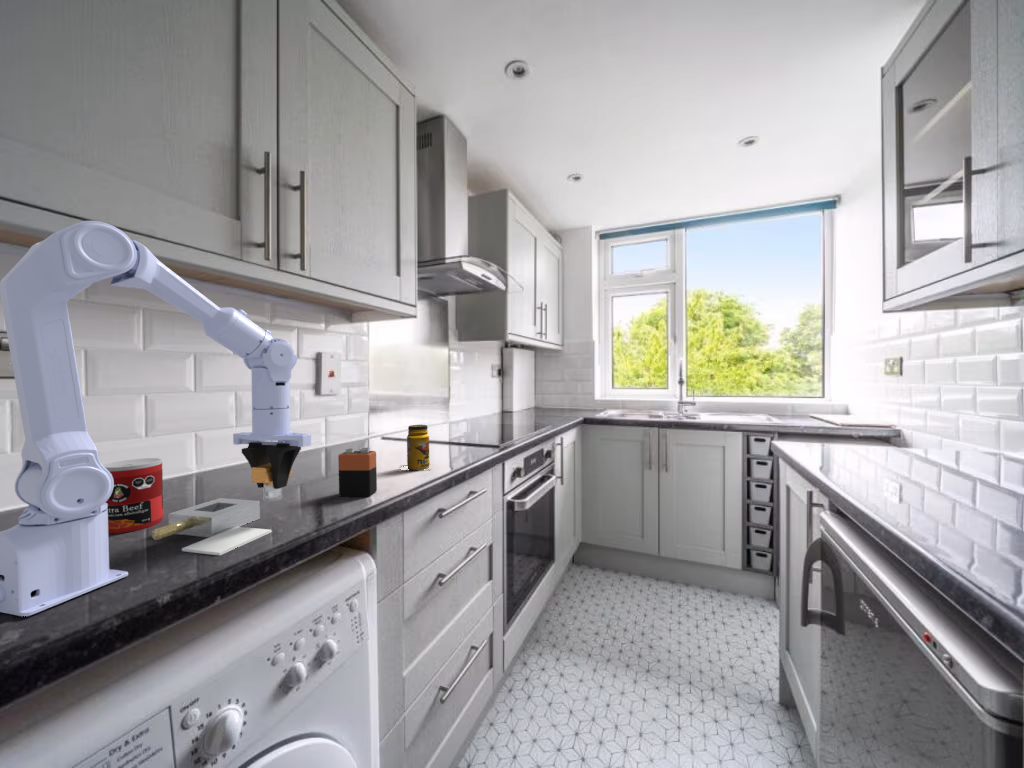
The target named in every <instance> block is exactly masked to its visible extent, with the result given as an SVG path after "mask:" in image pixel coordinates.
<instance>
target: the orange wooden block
mask: <svg viewBox="0 0 1024 768" xmlns="http://www.w3.org/2000/svg"><path fill="white" fill-rule="evenodd" d="M292 470H293V467H292V468H291V471H290V474H289V477H291V476H293V471H292ZM251 483H256V484H257V483H263V487H262V489H263V490H262V493H263V496H262V499H263V502H275V501H279V500H282V499H283V487H282V488H279V489H274V486H273V477H272V467H271V463H268V464H264V465H260V466H256V467H252V468H251Z"/></svg>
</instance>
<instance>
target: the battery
mask: <svg viewBox="0 0 1024 768" xmlns="http://www.w3.org/2000/svg"><path fill="white" fill-rule="evenodd" d="M377 479H378V478H377V452H376V451H375V450H371V448H370V447H360V448H359V450H354V448H346V449H345V451H344V452H342V453H339V454H338V495H339V497H341V498H343V497H344V498H345V497H350V498H351V497H352V498H353V497H357V498H358V497H359V498H360V497H362V498H365V497H366V498H368V497H371V496H372V495H373V494H375V493H376V492H377V491H378V489H377V488H378V487H377V486H378V485H377V483H378V482H377V481H378V480H377Z"/></svg>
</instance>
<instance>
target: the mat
mask: <svg viewBox="0 0 1024 768" xmlns="http://www.w3.org/2000/svg"><path fill="white" fill-rule="evenodd" d="M272 531H273V530H272V529H267V528H266V529H265V528H258V527H257V528H256V527H248V526H247V527H246V526H240V527H235V528H232V529H230V530H227V531H225V532H222V533H220V534H217V535H214V536H212V537H206V538H205V539H202V540H200V541H197V542H195V543H191V544H189V545H187V546H184V547H182V548H181V552H187V553H195V554H203V555H204V554H205V555H213V556H222V555H224V554H226V553H229V552H230V551H233V550H236V549H238V548H240V547H242V546H244V545H246V544H249V543H251V542H253V541H255V540H258V539H260V538H262V537H264V536H267V535H268V534H271V533H272ZM237 547H238V548H237ZM235 548H236V549H235Z"/></svg>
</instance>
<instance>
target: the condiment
mask: <svg viewBox="0 0 1024 768" xmlns="http://www.w3.org/2000/svg"><path fill="white" fill-rule="evenodd" d="M428 428H429V427H428V425H426V424H412V425H411V424H410V425H409V426H408V430H407V433H408V434H407V436H406V462H407V465H405V464H404V465H403V464H402V465H401V464H400V466H401V467H402V466H403V467H404V466H408V469H409V470H424V469H427V470H426V471H430V470H432V466H431V463H430V435H429V434H428V432H429V430H428ZM400 466H399V467H400ZM429 467H431V468H430V469H429V470H428V468H429ZM399 470H400V471H399ZM399 470H398V472H399V473H401V472H410V471H409V470H407V471H406V470H403V471H401V469H400V468H399ZM424 471H425V470H424Z"/></svg>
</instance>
